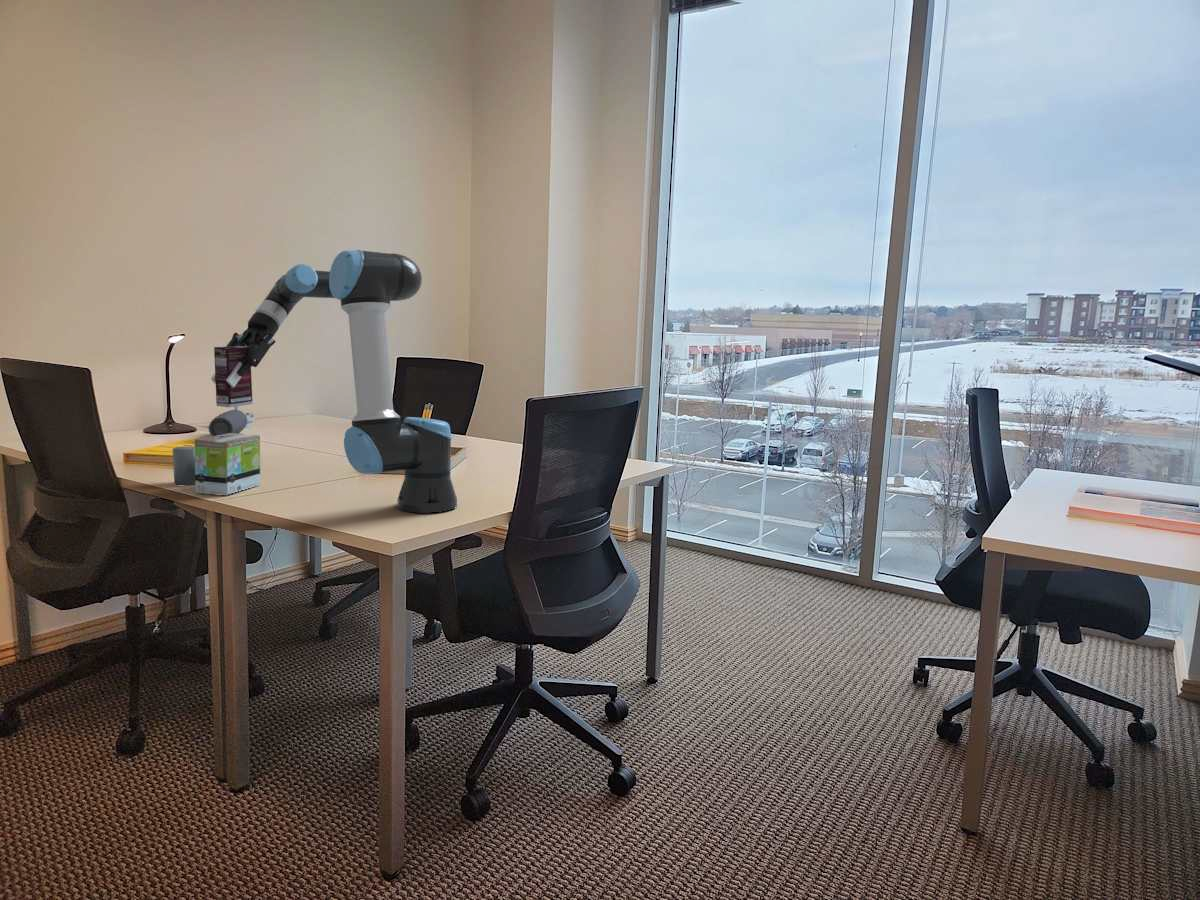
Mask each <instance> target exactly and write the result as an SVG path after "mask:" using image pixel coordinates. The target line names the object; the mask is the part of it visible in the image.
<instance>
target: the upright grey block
mask: <svg viewBox="0 0 1200 900" xmlns="http://www.w3.org/2000/svg"><path fill="white" fill-rule="evenodd" d="M172 463H173V464H172V465H173V483H174V484H176V485H175V486H177V485H185V486H184V487H187V486H186V485H194V486H195V480H196V479H195V445H194V446H192V445H188V446H187V445H185V446H184V445H183V446H178V447H177V446H176V447H173V448H172Z"/></svg>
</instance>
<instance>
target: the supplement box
mask: <svg viewBox="0 0 1200 900" xmlns="http://www.w3.org/2000/svg"><path fill="white" fill-rule="evenodd" d="M213 349H214V350H213V351H214V354H213V355H214V374H215V379H216V384H215V401H216V407H222V408H223V407H224V408H235V406H239V407H240V406H241V407H242V406H248V405H249V406H250V405H253V386H252V385H253V384H252V383H253V382H252V367H251V368H249V369H248V370H247V371H246V372H245V374H244V375H243V376H242V377H241V378H240V380H239V381H238V382H237V384H236V385H235V387H232V386H231V385H230V384H229V383H228V382H227V381H226V380H227V378H228V377H229V376H230V374H231V373H232V371H233V370H234V368H235V367H236V366H237V364H238V363H239V362H241V363H242V364H243V362H242V361H241V360H242V359H244V357H245V354H246V352H247V350H248V349H249V347H248V346H228V347H226V346H214V347H213Z"/></svg>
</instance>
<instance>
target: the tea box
mask: <svg viewBox="0 0 1200 900" xmlns="http://www.w3.org/2000/svg"><path fill="white" fill-rule="evenodd" d="M260 436H261V435H259V434H246V433H239V434H237V433H227V434H222V435H217V436H207V437H200V438H197V439H194V446H195V479H196V480H195V485H194V486H195V488H194V489H195V490H194V491H195V493H196V494H201V493H206V494H205V495H210V494H222V495H228V494H230V495H232V494H231V493H233V494H235V492H236V493H238V491H239V492H242V491H241V490H243V491H246V490H249V489H248V488H250V489H253V488H252V487H254V488H256V487H255V486H258V485H260V486H261V437H260ZM258 487H259V486H258ZM245 489H246V490H245ZM228 496H229V495H228Z"/></svg>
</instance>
